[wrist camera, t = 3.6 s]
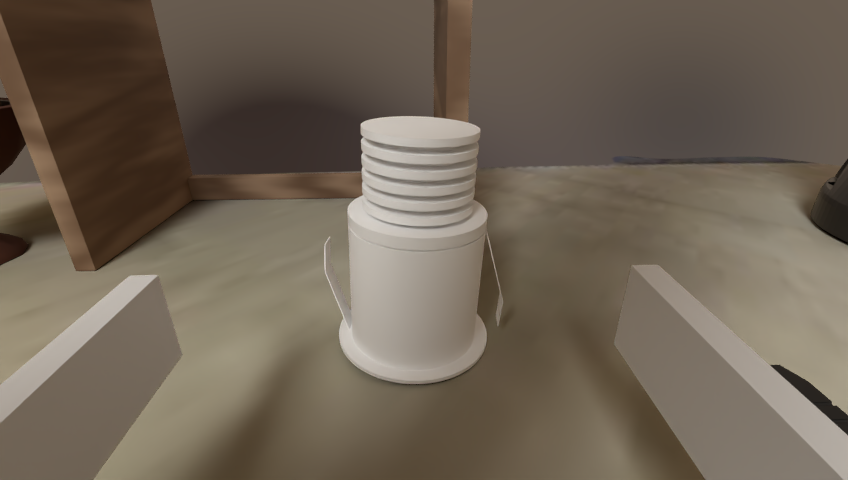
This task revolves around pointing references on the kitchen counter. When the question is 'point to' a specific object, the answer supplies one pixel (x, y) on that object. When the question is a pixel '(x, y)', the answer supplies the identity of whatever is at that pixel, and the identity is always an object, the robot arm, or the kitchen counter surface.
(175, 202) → the counter shelf
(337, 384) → the kitchen counter surface
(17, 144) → the ice cream bowl
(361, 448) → the kitchen counter surface
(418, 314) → the downlight
